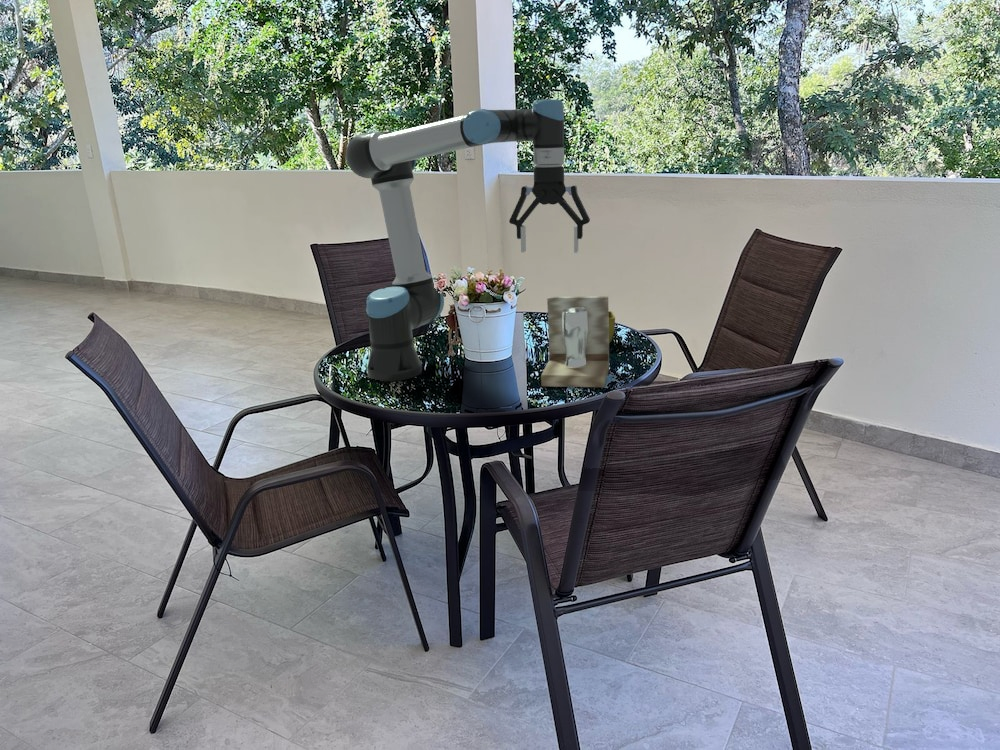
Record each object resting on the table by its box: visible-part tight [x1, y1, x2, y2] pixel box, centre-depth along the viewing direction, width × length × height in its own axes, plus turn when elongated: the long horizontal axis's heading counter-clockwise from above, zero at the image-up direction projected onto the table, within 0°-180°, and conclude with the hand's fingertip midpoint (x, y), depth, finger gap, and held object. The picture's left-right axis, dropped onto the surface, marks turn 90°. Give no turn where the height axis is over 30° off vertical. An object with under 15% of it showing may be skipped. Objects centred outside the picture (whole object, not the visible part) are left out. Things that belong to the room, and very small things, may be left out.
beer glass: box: [562, 307, 589, 369], centre depth 198 cm, size 7×7×15 cm
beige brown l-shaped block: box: [540, 295, 610, 388], centre depth 198 cm, size 16×16×20 cm
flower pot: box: [609, 310, 616, 344], centre depth 230 cm, size 9×9×9 cm
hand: (549, 251), depth 195 cm, fingers open, 13 cm apart
